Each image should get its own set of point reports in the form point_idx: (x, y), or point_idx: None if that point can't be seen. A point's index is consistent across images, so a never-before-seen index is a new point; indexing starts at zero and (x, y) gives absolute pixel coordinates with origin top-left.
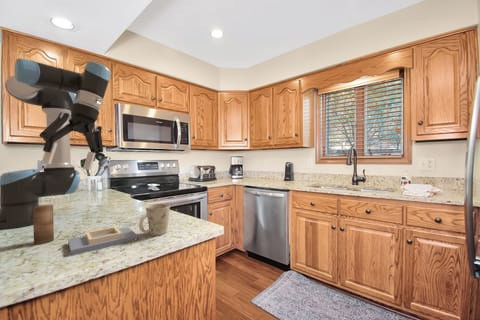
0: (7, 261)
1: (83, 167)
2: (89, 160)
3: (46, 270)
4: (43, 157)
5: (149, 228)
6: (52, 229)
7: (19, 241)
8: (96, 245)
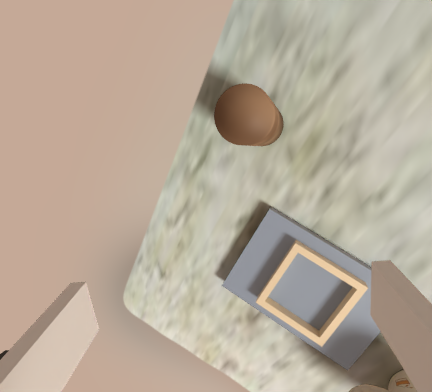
0: (169, 182)
1: (376, 270)
2: (411, 359)
3: (173, 293)
4: (52, 307)
5: (395, 388)
6: (269, 142)
7: (243, 53)
8: (263, 311)
